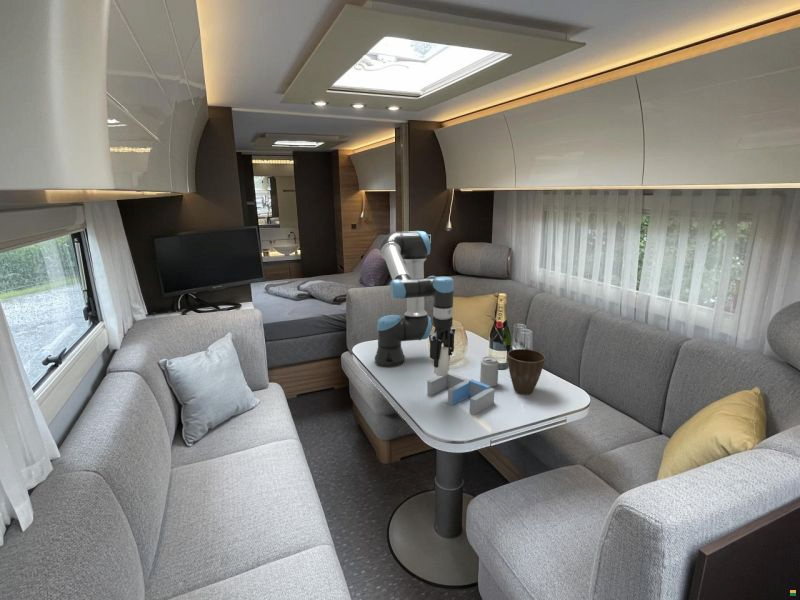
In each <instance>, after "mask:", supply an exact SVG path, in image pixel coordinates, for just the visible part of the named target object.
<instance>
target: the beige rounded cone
mask: <svg viewBox="0 0 800 600" xmlns="http://www.w3.org/2000/svg"><path fill="white" fill-rule="evenodd" d="M439 359H441V374H440V375H437V374H435V375H436V376H446V375H447V374H448V372H449V371H448V347H446V346H443V345H442V347H441V352H440V358H439Z"/></svg>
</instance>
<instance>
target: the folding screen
mask: <svg viewBox="0 0 800 600" xmlns="http://www.w3.org/2000/svg"><path fill="white" fill-rule="evenodd" d="M426 385H427V386H426V387H427V389H426V390H427V395H429V396H433V395H435V394H437V393H439V392H441V391H443V390H445V389H447V403H448V404H450V405H451V406H454V405H455V404H457V403H459V402H460V401H462V400H464V399H466V398H468V397H469V398H470V399H469V413H470V414H472V415H475V416H476V415H477V414H479V413H480V412H482V411H483V410H485V409H486V408H488V407H490V406H491V405H493V404H494V403H495V393H496V392H495V388H493V387H490V386H489V385H486V384H483V383H481V382H480V381H477V380H475V379H468V378H465V377H464V376H460V375H457V374H455V373H452V372H450V371H448V374H447V375H446V376H438V375H436V376H435V377H432V378H431V379H429V380H427V384H426Z"/></svg>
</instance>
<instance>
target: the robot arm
mask: <svg viewBox="0 0 800 600" xmlns="http://www.w3.org/2000/svg"><path fill="white" fill-rule="evenodd" d="M430 241H431V240H430V237H429V235H428V233H427V232H426V231H422V230H413V231H412V230H410V231H409V230H407V231H392V232H391V233H388V234H387V235H386V236H384V237H383V239H382V240H381V243H380V244H379V253H380V256H381V258H382V259H383V260H384V261H385V263H386V267H387V269H388V272H389V275H390V277H391V281H390V283H389V288H390V289H389V290H390V295H391V297H392V298H393V299H400V300H401V299H406V311H405V312H404V314H403V315H404V316H403V317H402V316H401V315H400V314H388V315H385V316H382V317H380V318H378V320H377V327H376V329H377V348H376V349H377V350H376V353H375V356H374V362H375V365H377V366H380V367H383V368H394V367H399V366H402V365H403V364H404V363H405V362H406V360H405V359H406V357H405V354H404V351H403V348H402V342H409V341H422V340H427V339H428V338H429V359H431V360H433V367H434V368H433V373H434V374H435V375H436V374H437V375H436V376H438V375H440V374H441V359H439V358H440V352H441V347H442V346H446V347H448V372H450V362H451V361H450V360H451V356H453V353H454V351H455V333H456V328H453V321H454V320H453V314H454V313H453V312H454V311H453V308H454V289H455V285H454V279H453V278H452V277H450V276H435V275H429V276H427V277H425V275H424V274H425V271H424V268H425V267H424V264H425V261H427V257H428V256H429V255H430V253H431V242H430ZM428 297H432V298H433V307H432V308H433V309H432V310H433V311H432V312H433V314H432V315H433V318H431V317H430V316H429V315H428V312H427V311H426V310H425V298H428ZM432 319H433V320H432ZM432 325H433V328H434V331H433V333H432ZM431 333H432V334H431Z"/></svg>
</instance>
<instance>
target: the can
mask: <svg viewBox="0 0 800 600" xmlns="http://www.w3.org/2000/svg"><path fill="white" fill-rule="evenodd" d="M479 377H480V378H479V379H480V380H479V382H481V383H483V384H486V385H489V386H490V387H491V388H493V387H495V386H496V385H498V382H499V380H498V379H499V361H498V358H497V357H495V356H487V355H486V356H484V357H482V360H480V375H479Z"/></svg>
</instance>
